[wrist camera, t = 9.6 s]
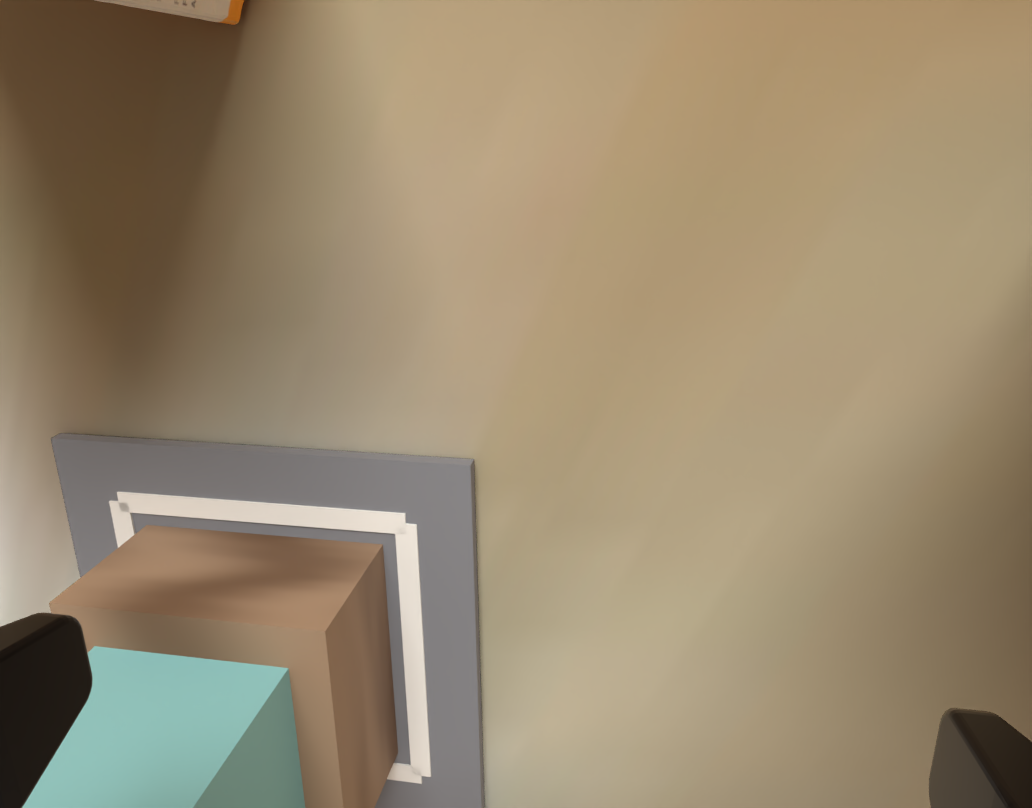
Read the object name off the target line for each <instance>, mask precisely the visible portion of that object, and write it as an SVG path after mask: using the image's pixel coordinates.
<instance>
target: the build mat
mask: <svg viewBox="0 0 1032 808" xmlns="http://www.w3.org/2000/svg"><path fill="white" fill-rule="evenodd" d="M51 442H52V447H53V451H54V456H55V461H56V465H57V470H58V475H59V479H60V484H61V489H62V493H63V498H64V503H65V507H66V512H67V517H68V521H69V526H70V530H71V535H72V540H73V544H74V549H75V554H76V558H77V563H78V568H79V572H80V577H82V576H84V575H85V574H86V573H87V572H89V571H90V570H91V569H92V568H94V567H95V566H96V565H97V564H99V563H100V562H101V561H102V560H104V559H105V558H106V557H107V556H109V555H110V554H111V553H112V552H114V551H115V550H116V549H117V548H119V547H120V546H121V545H122V544H124V543H125V542H126V541H127V540H129V539H130V538H131V537H132V536H134V535H135V534H136V533H137V532H139V531H140V530H141V529H142V528H144V527H145V526H146V525H154V526H167V527H179V528H191V529H203V530H215V531H227V532H239V533H251V534H263V535H276V536H288V537H300V538H312V539H324V540H336V541H348V542H360V543H372V544H383V552H384V566H385V579H386V593H387V607H388V620H389V634H390V648H391V661H392V675H393V688H394V702H395V716H396V729H397V743H398V754H397V756H396V759H395V761H394V763H393V766H392V768H391V770H390V773H389V775H388V777H387V780H386V782H385V784H384V787H383V789H382V791H381V794H380V796H379V798H378V801H377V803H376V805H375V808H485V804H484V772H483V739H482V707H481V674H480V641H479V609H478V576H477V544H476V511H475V478H474V459H463V458H447V457H431V456H415V455H400V454H384V453H368V452H352V451H336V450H320V449H304V448H289V447H273V446H257V445H241V444H225V443H209V442H193V441H178V440H162V439H146V438H130V437H114V436H98V435H82V434H67V433H60V434H58V435H56V436H54V437H52V438H51Z"/></svg>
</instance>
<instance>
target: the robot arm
mask: <svg viewBox="0 0 1032 808" xmlns="http://www.w3.org/2000/svg"><path fill="white" fill-rule="evenodd" d="M92 681H93V677H92V671H91V666H90V662H89V657H88V653H87V648H86V643H85V639H84V634H83V630H82V627H81V624H80V623H79V621H78V620H77V619H76V618H74V617H72V616H70V615H62V614H53V613H37V614H33V615H30V616H28V617H25V618H22V619H20V620H17V621H14V622H12V623H9V624H7V625H4V626H1V627H0V808H22V807H23V806H24V804H25V802H26V801H27V799H28V797H29V796H30V794H31V793H32V791H33V789H34V788H35V786H36V784H37V783H38V781H39V779H40V778H41V776H42V774H43V773H44V771H45V770H46V768H47V766H48V765H49V763H50V761H51V760H52V758H53V756H54V755H55V753H56V751H57V750H58V748H59V747H60V745H61V743H62V742H63V740H64V738H65V737H66V735H67V733H68V732H69V730H70V728H71V727H72V725H73V724H74V722H75V720H76V719H77V717H78V715H79V714H80V712H81V710H82V709H83V707H84V705H85V704H86V702H87V700H88V698H89V695H90V693H91V689H92ZM929 797H930V805H931V808H1032V742H1031V741H1030V740H1029V739H1027V738H1026V737H1025V736H1024V735H1022V734H1021V733H1020V732H1019V731H1017V730H1016V729H1015V728H1013V727H1012V726H1011V725H1010V724H1008V723H1007V722H1006V721H1005V720H1003V719H1002V718H1001V717H999V716H998V715H996V714H994V713H991V712H986V711H976V710H967V709H957V708H951V709H949V710H947V711H946V712H945V713H944V715H943V717H942V718H941V722H940V726H939V731H938V736H937V741H936V746H935V751H934V757H933V762H932V767H931V772H930V778H929Z"/></svg>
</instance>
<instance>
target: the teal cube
mask: <svg viewBox="0 0 1032 808" xmlns="http://www.w3.org/2000/svg"><path fill="white" fill-rule="evenodd" d="M88 657H89V662H90V666H91V671H92V677H93V681H92V689H91V693H90V695H89V698H88V700H87V702H86V704H85V705H84V707H83V709H82V710H81V712H80V714H79V715H78V717H77V719H76V720H75V722H74V724H73V725H72V727H71V728H70V730H69V732H68V733H67V735H66V737H65V738H64V740H63V742H62V743H61V745H60V747H59V748H58V750H57V751H56V753H55V755H54V756H53V758H52V760H51V761H50V763H49V765H48V766H47V768H46V770H45V771H44V773H43V774H42V776H41V778H40V779H39V781H38V783H37V784H36V786H35V788H34V789H33V791H32V793H31V794H30V796H29V797H28V799H27V801H26V802H25V804H24V806H23V807H22V808H305V801H304V792H303V784H302V776H301V767H300V759H299V751H298V743H297V734H296V726H295V718H294V709H293V701H292V693H291V684H290V676H289V668H283V667H274V666H265V665H256V664H247V663H239V662H230V661H221V660H212V659H203V658H195V657H186V656H177V655H168V654H159V653H151V652H142V651H133V650H124V649H115V648H107V647H98V646H94V647H93V648H92V649H91V650H90V651H89V652H88Z"/></svg>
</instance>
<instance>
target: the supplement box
mask: <svg viewBox="0 0 1032 808" xmlns="http://www.w3.org/2000/svg"><path fill="white" fill-rule="evenodd" d="M96 1H101V2H107V3H114V4H119V5H124V6H129V7H135V8H141V9H146V10H152V11H158V12H163V13H169V14H174V15H180V16H185V17H191V18H197V19H202V20H206V21H212V22H220V23H226V24H232V25H235V24H237V23H238V22H239V20H240V16H241V10H242V6H243V2H244V0H96Z"/></svg>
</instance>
